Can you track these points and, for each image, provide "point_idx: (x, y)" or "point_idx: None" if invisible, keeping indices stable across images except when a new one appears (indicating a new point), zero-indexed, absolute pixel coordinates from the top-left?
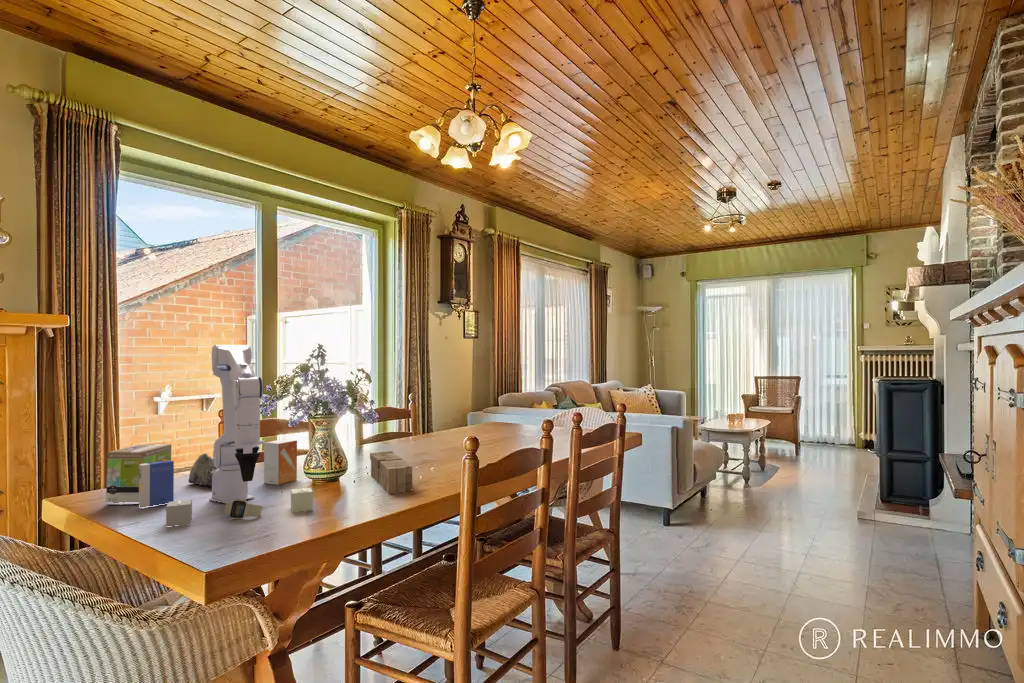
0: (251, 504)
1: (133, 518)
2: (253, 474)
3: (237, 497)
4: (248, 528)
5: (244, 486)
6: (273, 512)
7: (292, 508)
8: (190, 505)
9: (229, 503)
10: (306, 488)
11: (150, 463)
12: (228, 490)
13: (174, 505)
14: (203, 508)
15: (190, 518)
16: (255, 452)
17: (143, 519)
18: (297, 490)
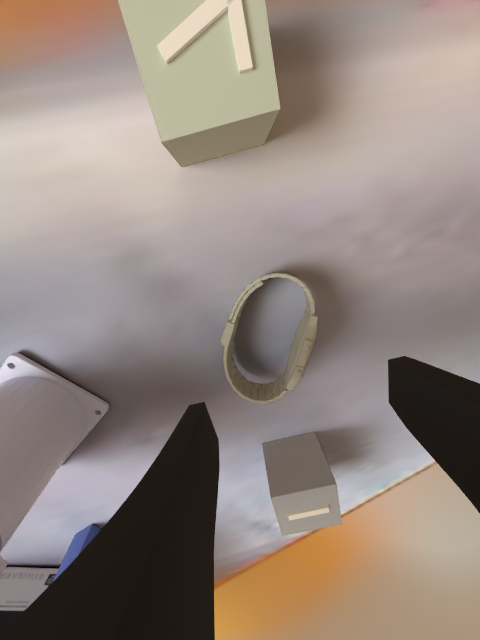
0: (229, 322)
1: (221, 540)
2: (444, 371)
3: (67, 400)
4: (422, 274)
5: (12, 411)
6: (239, 232)
7: (266, 137)
8: (329, 479)
9: (288, 389)
10: (138, 8)
11: None
12: (64, 446)
13: (335, 512)
14: (148, 452)
15: (313, 445)
16: (136, 622)
17: (234, 524)
18: (195, 83)
